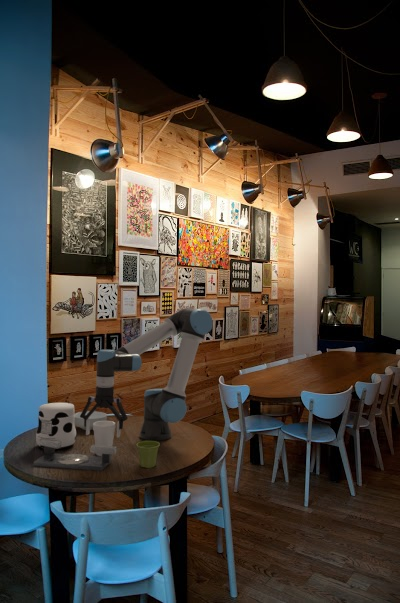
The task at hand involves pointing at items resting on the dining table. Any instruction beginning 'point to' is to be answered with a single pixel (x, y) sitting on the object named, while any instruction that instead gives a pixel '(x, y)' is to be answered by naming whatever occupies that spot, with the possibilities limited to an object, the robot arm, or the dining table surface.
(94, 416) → the cereal bowl
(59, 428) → the milk container
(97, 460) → the shaft stand
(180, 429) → the dining table surface
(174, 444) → the dining table surface
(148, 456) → the plant pot
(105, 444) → the foam cup
